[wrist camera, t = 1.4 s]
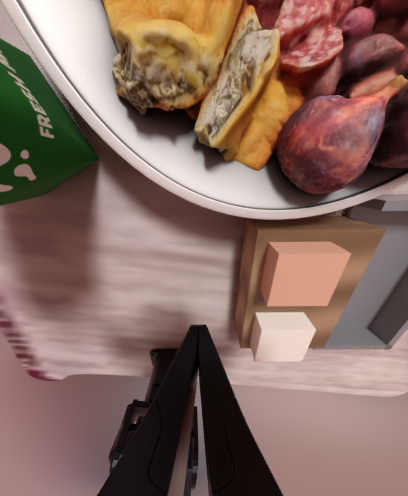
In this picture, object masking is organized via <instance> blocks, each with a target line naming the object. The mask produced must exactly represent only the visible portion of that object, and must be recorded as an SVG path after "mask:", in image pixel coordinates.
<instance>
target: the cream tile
mask: <svg viewBox="0 0 408 496" xmlns="http://www.w3.org/2000/svg"><path fill="white" fill-rule="evenodd" d="M315 332H316V329H315V327H314V326H313V325H312V323H311V322H310V320H309V319H308V318H307V316H306V315H305V313H304V312H270V313H255V317H254V323H253V328H252V333H251V339H250V346H251V350H252V353H253V357H254V361H302V360H303V358H304V355H305V353H306V351H307V349H308V347H309V345H310V342H311V340H312V338H313V336H314V334H315Z"/></svg>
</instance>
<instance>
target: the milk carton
mask: <svg viewBox="0 0 408 496" xmlns="http://www.w3.org/2000/svg"><path fill="white" fill-rule="evenodd" d="M98 159H99V157H98V156H97V155H96V153H95V152H94V150H93V149H92V147H91V146H90V144H89V143H88V141H87V140H86V138H85V137H84V135H83V134H82V132H81V131H80V129H79V128H78V126H77V125H76V124H75V122H74V121H73V119H72V118H71V116H70V115H69V113H68V112H67V110H66V109H65V107H64V106H63V104H62V103H61V101H60V100H59V98H58V97H57V95H56V94H55V93H54V91H53V90H52V88H51V87H50V85H49V84H48V82H47V81H46V79H45V78H44V76H43V75H42V73H41V72H40V70H39V69H38V67H37V66H36V64H35V63H34V62H33V60H32V59H31V57H30V56H29V55H28V54H26V53H24V52H23V51H21V50H19V49H18V48H16V47H14V46H12V45H11V44H9V43H7V42H6V41H4V40H2V39H0V205H5V204H10V203H14V202H18V201H22V200H26V199H30V198H34V197H38V196H42V195H44V194H46V193H47V192H49V191H50V190H52V189H53V188H55V187H56V186H58V185H59V184H61V183H62V182H64V181H65V180H67V179H69V178H70V177H72V176H73V175H75V174H76V173H78V172H79V171H81V170H82V169H84V168H85V167H87V166H89V165H90V164H92V163H93V162H95V161H96V160H98Z"/></svg>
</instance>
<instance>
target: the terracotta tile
mask: <svg viewBox="0 0 408 496" xmlns="http://www.w3.org/2000/svg"><path fill="white" fill-rule="evenodd" d="M350 255H351V253H350V252H348V251H347V250H345V249H343V248H341V247H339V246H338V245H336V244H334V243H332V242H268V248H267V253H266V259H265V264H264V269H263V275H262V280H261V285H260V292H261V294H262V296H263V298H264V301H265V303H266V305H267V306H327V305H328V303H329V301H330V299H331V297H332V295H333V292H334V290H335V288H336V286H337V284H338V281H339V279H340V277H341V275H342V273H343V271H344V268H345V266H346V264H347V262H348V260H349V258H350Z"/></svg>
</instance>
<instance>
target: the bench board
mask: <svg viewBox="0 0 408 496" xmlns="http://www.w3.org/2000/svg"><path fill="white" fill-rule="evenodd" d="M386 230H387V229H384V228H381V227H378V226H375V225H371V224H368V223H365V222H362V221H359V220H356V219H353V218H349V217H346V216H311V217H305V218H297V219H283V220H264V219H251V218H246V220H245V229H244V239H243V248H242V257H241V266H240V276H239V285H238V294H237V303H236V313H235V324H236V329H237V333H238V338H239V343H240V348H251V346H250V339H251V333H252V328H253V323H254V317H255V313H270V312H304V313H305V315H306V316H307V318H308V319H309V320H310V322H311V323H312V325H313V326H314V327H315V329H316V332H315V334H314V336H313V338H312V340H311V342H310V345H309V347H308V348H324V346H325V344H326V343H327V341H328V339H329V337H330V335H331V333H332V331H333V329H334V328H335V326H336V324H337V322H338V320H339V318H340V316H341V314H342V312H343V311H344V309H345V307H346V305H347V303H348V301H349V299H350V297H351V296H352V294H353V292H354V290H355V288H356V286H357V284H358V282H359V281H360V279H361V277H362V275H363V273H364V271H365V269H366V267H367V265H368V264H369V262H370V260H371V258H372V256H373V254H374V252H375V250H376V249H377V247H378V245H379V243H380V241H381V239H382V237H383V235H384V233H385V232H386ZM268 242H332V243H334V244H336V245H338V246H339V247H341V248H343V249H345V250H347V251H348V252H350V253H351V255H350V258H349V260H348V262H347V264H346V266H345V268H344V271H343V273H342V275H341V277H340V279H339V281H338V284H337V286H336V288H335V290H334V292H333V295H332V297H331V299H330V301H329V303H328V305H327V306H267V305H266V303H265V301H264V298H263V296H262V294H261V292H260V285H261V280H262V275H263V269H264V264H265V259H266V253H267V248H268Z"/></svg>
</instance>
